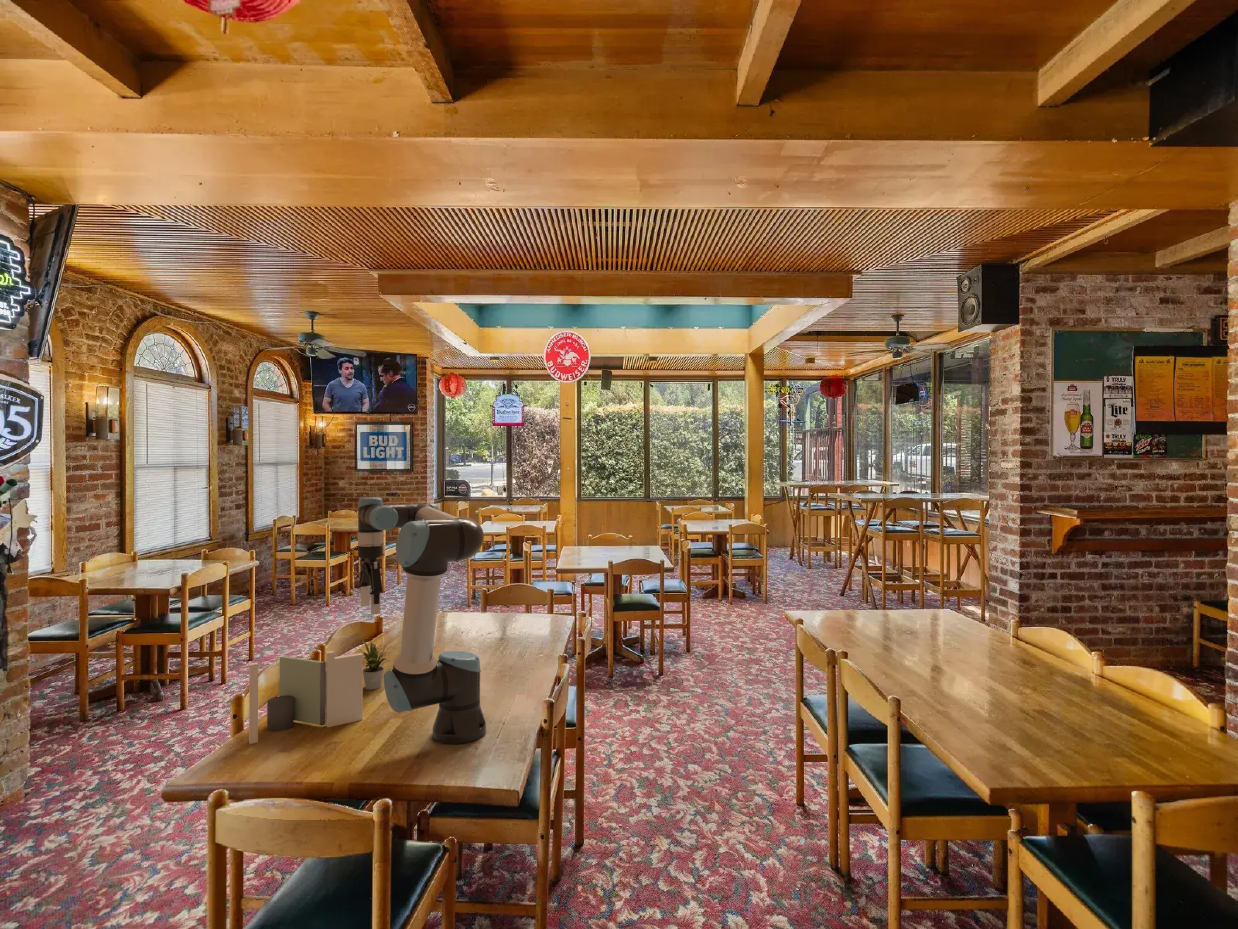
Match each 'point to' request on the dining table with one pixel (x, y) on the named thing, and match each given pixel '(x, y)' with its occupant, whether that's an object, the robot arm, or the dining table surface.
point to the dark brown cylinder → (280, 713)
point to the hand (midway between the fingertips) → (370, 610)
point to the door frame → (340, 691)
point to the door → (305, 688)
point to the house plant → (373, 667)
